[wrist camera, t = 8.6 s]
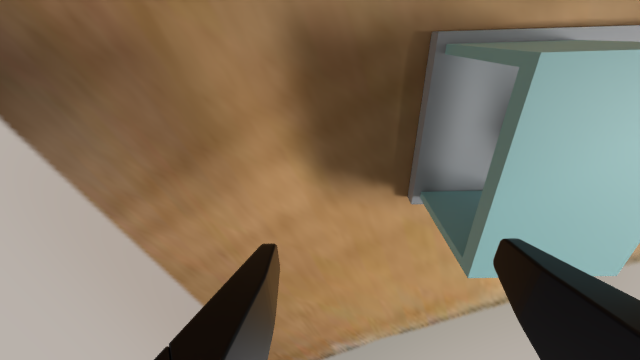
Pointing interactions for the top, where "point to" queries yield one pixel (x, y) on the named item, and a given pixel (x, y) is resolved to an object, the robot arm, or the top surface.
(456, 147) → the base plate
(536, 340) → the robot arm
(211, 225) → the top surface
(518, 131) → the housing cover
